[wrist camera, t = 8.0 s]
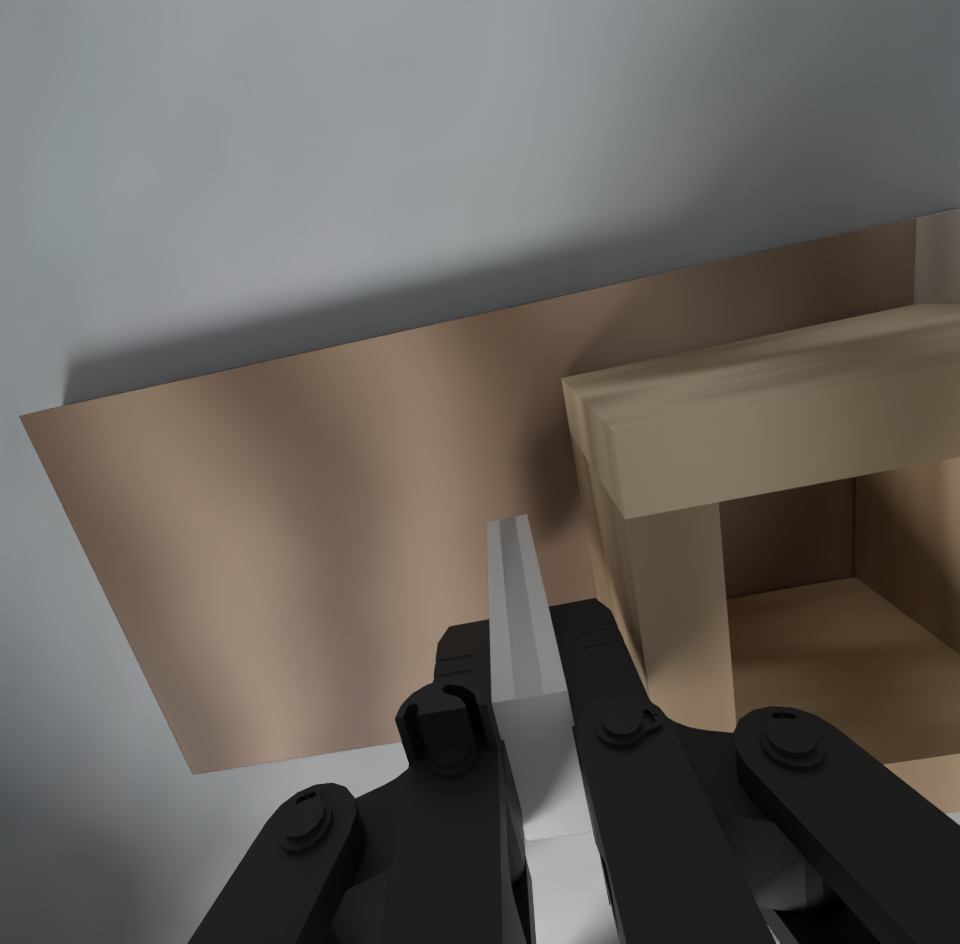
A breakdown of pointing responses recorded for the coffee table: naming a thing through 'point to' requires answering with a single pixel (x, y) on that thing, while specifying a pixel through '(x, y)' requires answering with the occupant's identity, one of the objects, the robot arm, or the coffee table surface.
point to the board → (417, 488)
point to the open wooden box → (774, 467)
